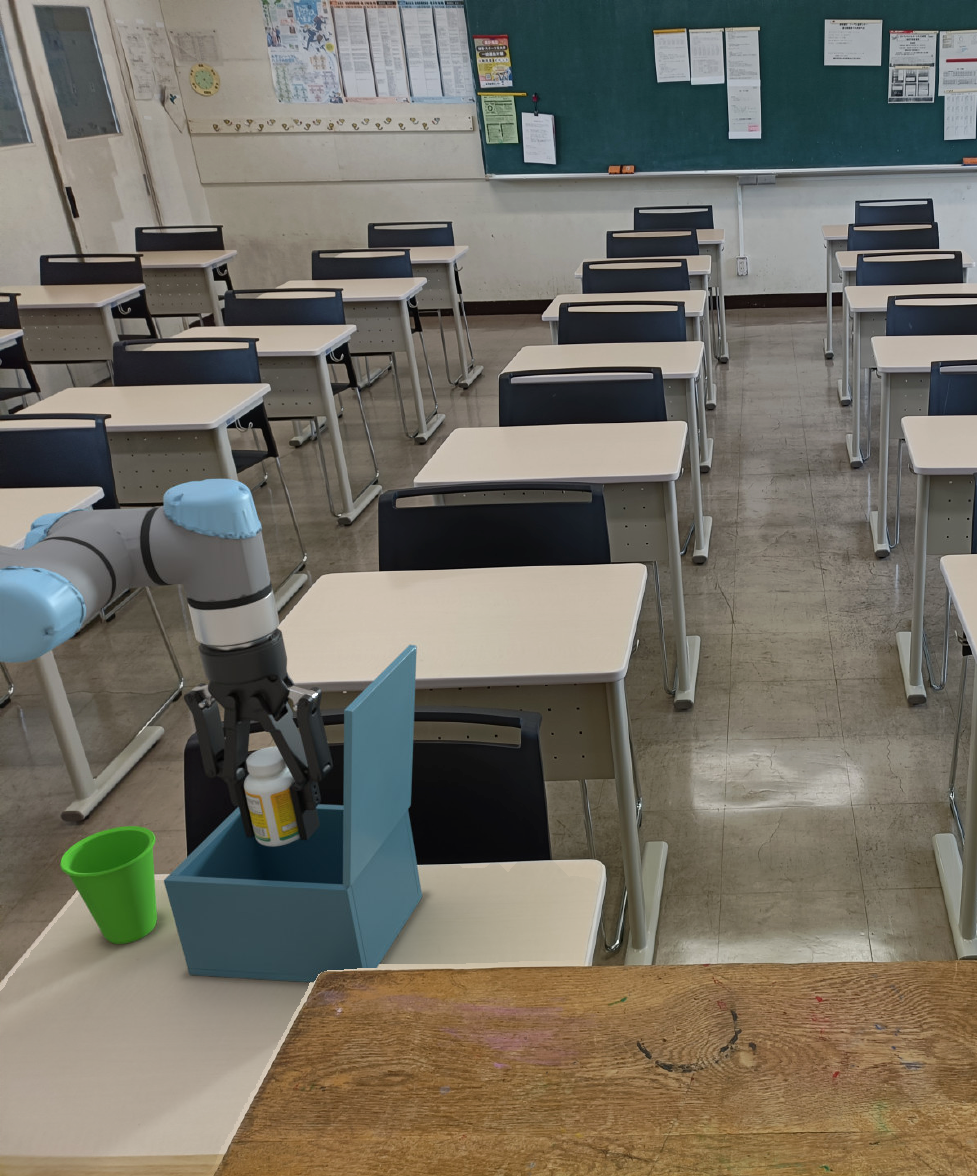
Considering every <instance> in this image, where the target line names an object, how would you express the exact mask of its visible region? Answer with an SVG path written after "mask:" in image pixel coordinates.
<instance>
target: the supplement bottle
mask: <svg viewBox="0 0 977 1176" xmlns="http://www.w3.org/2000/svg"><path fill="white" fill-rule="evenodd" d="M246 763H247V772H249V775H248V776H247V777H246V779H245V782H244V789H245V794H246V798H247V803H248V807H249V811H250V816H251V820H252V825H253V830H254V834H255V837H256V840H257V841H258V842H259V843H260V844H262V845H265V846H281V845H285V844H288V843H291V842H293V841H295V840H298V839H299V838H300V836H299V831H298V826H297V822H296V817H295V813H294V808H293V803H292V799H291V794H290V789H289V787H290V786H291V785H292V784H293V783H294V782H295V781H294V779H293V777H292V775H291V773H290V771H289V769H288V767H287V765H286V763H285V761H284V759H283V757H282V755H281V754H280V752H279V750H278V748H277V746H268V747H263V748H260V749H257V750H255V751H253V752H251V754H248V758H247V760H246Z"/></svg>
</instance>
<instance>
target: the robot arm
mask: <svg viewBox="0 0 977 1176" xmlns="http://www.w3.org/2000/svg"><path fill="white" fill-rule="evenodd" d="M162 500H163V505H161V506H158V507H156V506H155V507H135V508H111V509H110V508H109V509H89V508H88V509H87V508H86V509H83V508H76V509H71V510H68V511H60V512H51V513H46V514H42V515H41V516H38V517H37V518H36V519H35V520H33V522H32V523H31V525H30V531H29V532H27V533H26V535H25V538H24V544H23V549H20V548H15V547H11V546H5V545H0V663H5V664H6V663H8V664H9V663H10V664H14V663H15V664H17V663H25V662H26V663H27V662H30V661H33V660H35V659H38V658H40V657H42V656H44V655H46V654H48V653H49V652H51V651H52V650H54V649H55V648H57V647H58V646H60V645H62V644H64V643H65V642H66V643H67V641H69V640H70V639H71V638H73V637H74V636H75V635H76V633H77V632H78V631H79V630H80V629H81V628H82V627H83V626H84V625H86V623H87V622H88V621H89V620H91V619H92V618H93V617H94V616H95V615H96V614H98V613H99V611H102V610H103V609H104V608H105V607H107V606H108V605H109V604H110V603H111V602H113V601H114V600H115V599H116V598H118V597H119V596H120V595H121V594H122V593H124V591H126V590H127V589H131V588H145V587H146V588H148V587H165V586H173V585H182V587H183V590H184V594H185V596H186V601H187V605H188V611H189V615H190V619H191V624H192V628H193V633H194V637H195V640H196V641H197V642H198V643H200V644H199V645H198V651H199V656H200V660H201V665H202V668H203V669H202V670H203V672H204V676H205V678H206V680H208V683H207V684H206V683H204V682H200V683H199V684H197V685H196V686H195V687H193V688H192V689H191V690H189V691H188V692H186V693H185V694H184V696H183V700H184V702H185V704H186V706H187V707H188V709H189V710H190V712H191V714H192V717H193V723H194V727H195V732H196V736H197V740H198V741H197V742H198V746H199V751H200V755H201V760H202V765H203V770H204V773H205V775H206V776H207V777H209V778H211V779H212V778H215V777H219V778H221V779H222V780H223V781H224V782H225V783H226V784H227V789H228V792H229V796H230V801H231V804H232V805H233V806H234V808H238V807H239V809H240V814H241V818H242V822H243V826H244V831H245V835H246V837H249V838H253V837H254V836H255V834H254V830H253V825H252V820H251V816H250V811H249V807H248V803H247V798H246V794H245V789H244V782H245V779H246V777H247V776H248V775H249V772H248V769H247V763H246V760H247V758H248V756H249V745H250V733H251V732H250V731H251V722H253V721H254V722H257V723H260V725H261V726H262V729H263V731H264V732H265V733H269V734H270V736H271V738H272V740H273V742H274V744H275V747H277V748H278V750H279V752H280V754H281V755H282V757H283V759H284V761H285V763H286V765H287V767H288V769H289V771H290V773H291V775H292V777H293V779H294V781H295V782H294V783H293V784H292V785H291V786H290V787H289V789H290V794H291V799H292V803H293V808H294V813H295V817H296V822H297V826H298V831H299V836H300V840H308V839H309V838H310V836H311V835H312V834H313V833H314V832H315V831H316V830H317V828H318V827H319V826H320V824H319V819H318V814H317V809H316V807H317V806H318V804H321V800H322V797H321V793H320V787H319V783H320V782H321V781H322V780H323V779H324V778H325V777H326V776H327V775H328V773H329V772H330V771H331V770H333V768H334V764H333V758H332V754H331V750H330V746H329V741H328V736H327V732H326V729H325V724H324V720H323V715H322V710H321V703H322V702H321V701H322V696H323V695H322V694H323V691H322V689H321V688H320V687H317V686H312V687H311V688H310V689H306V688H303V687H299V686H297V685H295V683H294V681H293V679H292V678H291V677H290V675H289V673H288V655H287V650H286V646H285V641H284V636H283V632H282V630H281V629H280V628H279V626H280V619H279V613H278V610H277V609H278V608H277V604H276V603H277V602H276V598H275V594H274V589H273V584H272V581H271V576H270V569H269V566H268V564H269V563H268V559H267V555H266V554H267V553H266V549H265V543H264V538H263V537H264V536H263V532H262V530H263V527H262V523H261V521H260V520H259V516H258V513H257V512H258V511H257V510H256V506H255V502H254V498H253V494H252V491H251V490H250V488H249V487H248V486H247V485H246V484H245V483H243V482H241V481H239V480H236V479H231V478H207V479H203V480H192V481H188V482H184V483H179V484H177V485H175V486H172V487H170V488H169V489H167V490H166V492H164V494H163V497H162ZM289 700H291V702H292V705H293V706H292V708H291V706H290V704H289ZM219 705H220V706H221V707H222V708H223V709H224V710H223V722H222V717H221V712H220V708H219ZM293 711H294V712H296V721H297V725H296V723H295V721H294V719H293V717H294V712H293ZM297 726H298V727H297ZM224 729H225V732H224ZM246 770H247V772H246Z"/></svg>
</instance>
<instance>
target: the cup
mask: <svg viewBox="0 0 977 1176" xmlns="http://www.w3.org/2000/svg"><path fill="white" fill-rule="evenodd" d="M155 844H156V836H155V834H154V832H153V831H152V830H150V829H148V828H147V827H142V826H138V825H124V826H118V827H113V828H107V829H105V830H102V831H98V832H95V833H93V834H90V835H89V836H86V837H85V838H82V839H81V840H79V841H77V842H76V843H75V844H73V845H72V846H70V847H69V848H68V849H67V850H66V851H65V852H64V853H63V856H62V857H61V859H60V864H59V867H60V870H61V871H62V872H63V873H65V874H66V875H68V876H69V878H70V879H71V881H72V883H73V885H74V886H75V888H76V890H77V892H78V893H79V895H80V897H81V899H82V900H83V902H84V904H85V906H86V907H87V909H88V911H89V913H90V915H91V916H92V918H93V919H94V921H95V923H96V925H97V927H98V929H99V930H100V932H101V934H102V936H103V937H104V939H105V940H106V941H108V942H109V943H111V944H115V945H124V944H129V943H130V944H131V943H133V942H136V941H138V940H141V939H142V938H144V937H146V936H147V935H149V934H150V933H151V932H152V931H153V930H154V929H155V927H156V924H157V921H158V913H157V896H156V895H157V894H156V879H155V865H154V864H155V863H154V849H153V848H154V845H155Z"/></svg>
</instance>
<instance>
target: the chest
mask: <svg viewBox="0 0 977 1176" xmlns="http://www.w3.org/2000/svg"><path fill="white" fill-rule="evenodd" d="M343 808H344V804H343V805H340V804H321V803H319V804H318V806H317V807H316V809H317V814H318V819H319V824H320V826H319V827H318V828H317V830H316V831H315V832H314V833H313V834H312V835H311V836H310V838H309V839H308V840H300V838H299V839H298V840H295V841H293V842H291V843H288V844H285V845H281V846H265V845H262V844H260V843H259V842H258V841H257V840H256V837H255V836H254V837H253V838H249V837H246V835H245V831H244V826H243V822H242V818H241V814H240V809H239V807H236V808H235V810H234V811H232V813H230V814H229V815H228V817H226V818H225V819H224V820H223V821H222V822H221V823H220V824H219V825H218V826H217V827H216V828H215V829H214V830H213V831H212V832H211V833H210V834H209V835H208V836H207V837H206V838H205V839H204V840H203V841H202V842H201V843H200V844H199V845H198V846H197V847H196V848H195V849H194V850H193V851H191V853H190V854H188V856H187V857H186V858H185V859H183V860H182V861H181V863H179V865H178V866H177V867H176V868H175V869H173V870H172V871H171V873H170V874H168V876H166V877H165V878H164V879H163V883H164V888H165V890H166V894H167V898H168V903H169V905H170V909H171V913H172V916H173V919H174V920H173V921H174V924H175V927H176V930H177V934H178V938H179V942H180V945H181V950H182V953H183V957H184V961H185V965H186V967H187V971H188V975H189V976H200V977H217V978H218V977H219V978H235V979H250V980H251V979H252V980H264V981H265V980H266V981H268V980H269V981H281V982H282V981H283V982H299V983H314V981H315V980H316V978H317V976H318V974H320V973H321V972H324V971H327V970H344V969H357V968H377V969H378V968H379V965H380V964H381V963H382V961H383V960H384V957H385V956H386V954H387V953H388V951H389V950H390V948H391V947H392V945H393V944H394V942H395V941H396V938H398V935H399V934H400V933H401V931H402V929H403V928H404V926H405V924H406V923H407V921H409V918H410V917H411V915H412V914H413V912H414V911H415V908H417V906H418V904H419V903H420V901H421V899H422V897H423V892H422V886H421V881H420V875H419V874H420V873H419V868H418V862H417V856H416V850H415V844H414V836H413V831H412V825H411V819H410V813H409V809H408V810H407V811H406V812H405V814H404V815H403V816H402V818H401V819H400V820H399V822H398V823H397V824H396V826H395V827H394V828H393V830H392V831H391V833H390V834H389V835H388V837H387V838H386V839H385V841H384V842H383V843H382V845H381V846H380V847H379V849H378V850H377V851H376V853H375V854H374V855H373V857H372V858H371V859H370V861H369V862H368V863H367V865H366V866H365V867H364V869H363V870H362V871H361V873H360V874H359V875H358V877H357V878H356V880H355V881H354V882H353V884H352V885H351V886H350V887H348V886H343Z"/></svg>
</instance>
